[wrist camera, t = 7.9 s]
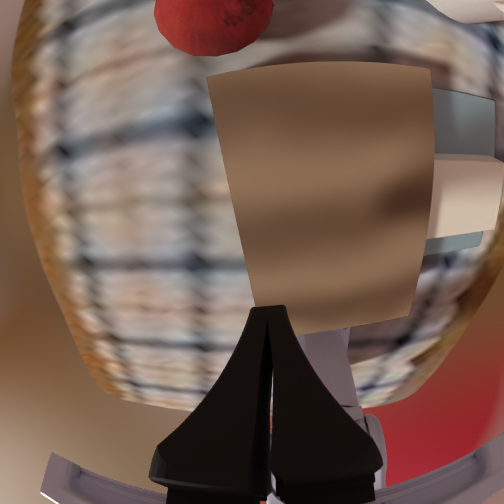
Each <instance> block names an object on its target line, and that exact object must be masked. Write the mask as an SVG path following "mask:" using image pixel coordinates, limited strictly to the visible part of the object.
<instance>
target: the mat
mask: <svg viewBox="0 0 504 504" xmlns="http://www.w3.org/2000/svg"><path fill="white" fill-rule="evenodd" d="M432 92H433V106H434V130H435V151H434V153H447V154H470V155H485V156H492V157H494V153H495V101H493V100H489V99H485V98H481V97H477V96H473V95H468V94H464V93H459V92H454V91H448V90H442V89H436V88H432ZM482 233H483V231H479V232H472V233H466V234H459V235H452V236H445V237H438V238H431V239H426V243H425V249H424V254H423V256H426V255H432V254H438V253H444V252H449V251H455V250H461V249H466V248H472V247H477V246H479V245H480V241H481V237H482Z"/></svg>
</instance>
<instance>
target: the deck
mask: <svg viewBox="0 0 504 504" xmlns="http://www.w3.org/2000/svg"><path fill="white" fill-rule="evenodd" d="M206 80H207V85H208V90H209V94H210V99H211V104H212V109H213V114H214V118H215V123H216V128H217V133H218V137H219V142H220V147H221V152H222V156H223V161H224V166H225V170H226V175H227V180H228V184H229V189H230V194H231V198H232V203H233V207H234V212H235V217H236V221H237V226H238V230H239V235H240V239H241V244H242V248H243V253H244V257H245V262H246V266H247V271H248V275H249V280H250V284H251V289H252V293H253V298H254V302H255V306H256V307H261V306H272V305H285V306H286V309H287V314H288V317H289V320H290V323H291V326H292V328H293V331H294V333H295V335H300V334H308V333H315V332H322V331H329V330H336V329H342V328H348V327H354V326H360V325H366V324H371V323H376V322H381V321H386V320H391V319H396V318H401V317H405V316H409V312H410V309H411V305H412V302H413V298H414V294H415V290H416V286H417V282H418V278H419V273H420V269H421V264H422V259H423V254H424V249H425V243H426V238H427V231H428V225H429V217H430V209H431V200H432V189H433V176H434V151H435V130H434V106H433V92H432V82H431V74H430V69H428V68H422V67H415V66H408V65H399V64H390V63H377V62H357V61H323V62H303V63H290V64H280V65H271V66H263V67H256V68H250V69H243V70H238V71H232V72H227V73H222V74H218V75H213V76H209V77H206Z"/></svg>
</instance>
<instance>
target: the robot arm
mask: <svg viewBox="0 0 504 504" xmlns="http://www.w3.org/2000/svg"><path fill="white" fill-rule="evenodd" d="M350 328H351V327H348V328H342V329H336V330H329V331H322V332H315V333H308V334H300V335H295V333H294V331H293V328H292V326H291V323H290V320H289V317H288V314H287V309H286V306H285V305H272V306H261V307H252V308H251V309H250V313H249V316H248V319H247V322H246V325H245V327H244V330H243V332H242V335H241V337H240V339H239V341H238V344H237V346H236V348H235V350H234V352H233V354H232V356H231V358H230V359H229V361H228V363H227V365H226V367H225V368H224V370H223V372H222V373H221V375H220V377H219V378H218V380H217V381H216V383H215V384H214V386H213V387H212V388H211V390H210V391H209V392H208V394H207V395H206V396H205V398H204V399H203V400H202V402H201V403H200V404H199V405H198V406H197V408H196V409H195V410H194V411H193V412H192V413H191V414H190V415H189V416H188V417H187V418H186V419H185V421H184V422H183V423H182V424H181V425H180V426H179V427H178V428H177V429H176V430H175V431H173V432H172V433H171V434H170V435H169V436H168V437H166V438H165V439H164V440H163V441H162V442H161V443H160V444H158V445H157V447H156V450H155V453H154V455H153V458H152V462H151V468H150V472H149V478H150V480H151V481H153V482H155V483H158V484H160V485H163V486H165V487H168V492H167V494H162V493H157V492H153V491H149V490H145V489H142V488H138V487H134V486H131V485H128V484H125V483H121V482H118V481H115V480H112V479H109V478H107V477H104V476H101V475H99V474H96V473H93V472H91V471H89V470H86V469H84V468H81V467H80V466H79V465H77V464H75V463H73V462H71V461H69V460H67V459H65V458H63V457H61V456H59V455H57V454H55V453H53V452H52V453H51V455H50V458H49V461H48V465H47V468H46V471H45V475H44V479H43V482H42V486H41V490H40V492H41V494H43V495H44V496H46V497H47V498H49V499H50V500H52V501H54V502H55V503H57V504H260V501H266V503H267V504H379V503H381V504H482V503H483V502H485V501H486V500H487V499H489V498H490V497H492V496H493V495H494V494H496V493H497V492H498V491H500V490H501V489H502V488H504V432H503V433H501V434H499V435H498V436H496V437H495V438H493V439H492V440H490V441H489V442H487V443H485V444H483V445H482V446H481V447H479V448H477V449H476V450H475V451H474V452H472V453H470V454H468V455H466V456H464V457H462V458H460V459H458V460H456V461H454V462H452V463H450V464H448V465H446V466H443V467H441V468H439V469H436V470H434V471H432V472H429V473H426V474H424V475H421V476H419V477H416V478H413V479H410V480H407V481H405V482H401V483H398V484H395V485H392V486H388V487H386V476H385V472H386V470H387V456H386V447H385V441H384V436H383V432H382V428H381V425H380V422H379V419H378V418H376V417H375V416H373V415H372V414H366V415H364V417H363V413H362V407H361V406H359V404H358V399H357V394H356V389H355V385H354V380H353V376H352V371H351V367H350V362H349V358H348V354H347V350H348V343H349V335H350ZM272 376H273V415H272V432H270V402H271V390H272Z"/></svg>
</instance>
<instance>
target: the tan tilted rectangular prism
mask: <svg viewBox="0 0 504 504" xmlns="http://www.w3.org/2000/svg"><path fill="white" fill-rule="evenodd" d="M503 178H504V162H502V161H500V160H498V159H496V158H494V157H492V156H485V155H470V154H447V153H434V176H433V189H432V200H431V209H430V217H429V225H428V231H427V238H426V239H431V238H438V237H445V236H452V235H459V234H466V233H472V232H479V231H485V230H492V229H494V228H495V224H496V219H497V215H498V210H499V204H500V199H501V193H502V186H503Z"/></svg>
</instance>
